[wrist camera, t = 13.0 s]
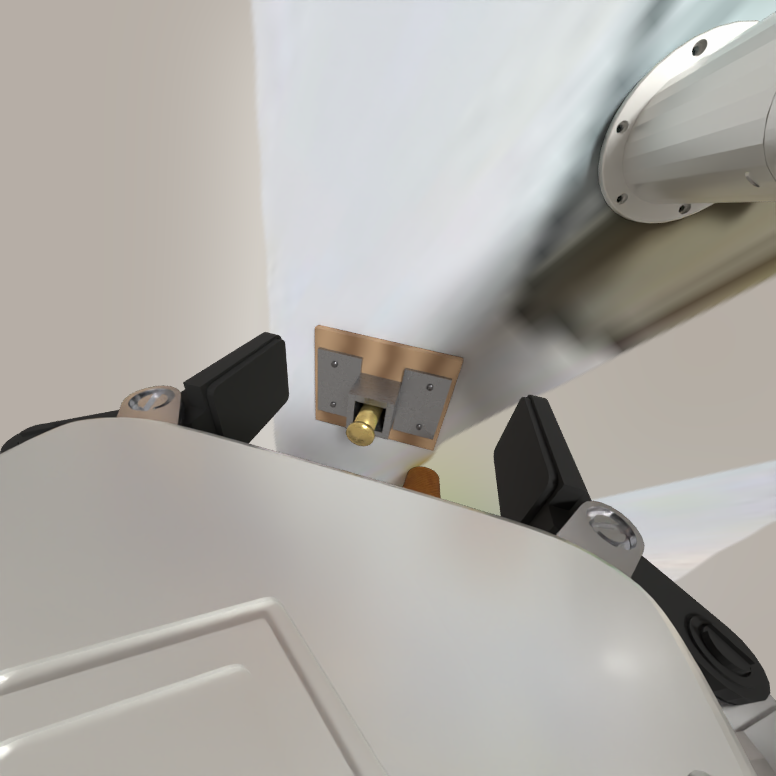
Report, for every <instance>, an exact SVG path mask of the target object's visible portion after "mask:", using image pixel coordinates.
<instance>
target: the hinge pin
mask: <svg viewBox="0 0 776 776" xmlns="http://www.w3.org/2000/svg"><path fill="white" fill-rule="evenodd" d="M382 410H383V408H381V407H377V406H373V405H369V404H365V403H364V404H363V406H362V408H361V409H360V411H359V413H358V415H357V417H356V419H355V421H354V422H352V423H351V424H350V425H349V426H348V428H347V430H346V435H347V437H348V439H349V440H350V441H351V442H353V443H354V444H356V445H359V446H368V445H370V444H371V443H372V442H373V440H374V437H375V432H374V429H375V427H376V425H377V422H378V420H379V417H380V415H381V412H382Z"/></svg>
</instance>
